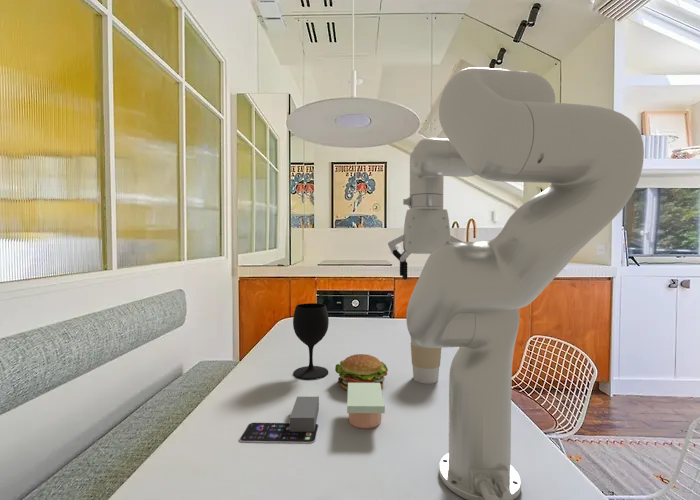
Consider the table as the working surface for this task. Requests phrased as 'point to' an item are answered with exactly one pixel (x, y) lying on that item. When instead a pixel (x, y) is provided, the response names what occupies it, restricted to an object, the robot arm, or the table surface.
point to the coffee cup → (425, 363)
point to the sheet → (365, 398)
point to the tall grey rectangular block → (304, 414)
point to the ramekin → (365, 420)
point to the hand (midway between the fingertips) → (425, 279)
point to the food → (361, 370)
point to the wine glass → (310, 335)
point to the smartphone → (276, 434)
